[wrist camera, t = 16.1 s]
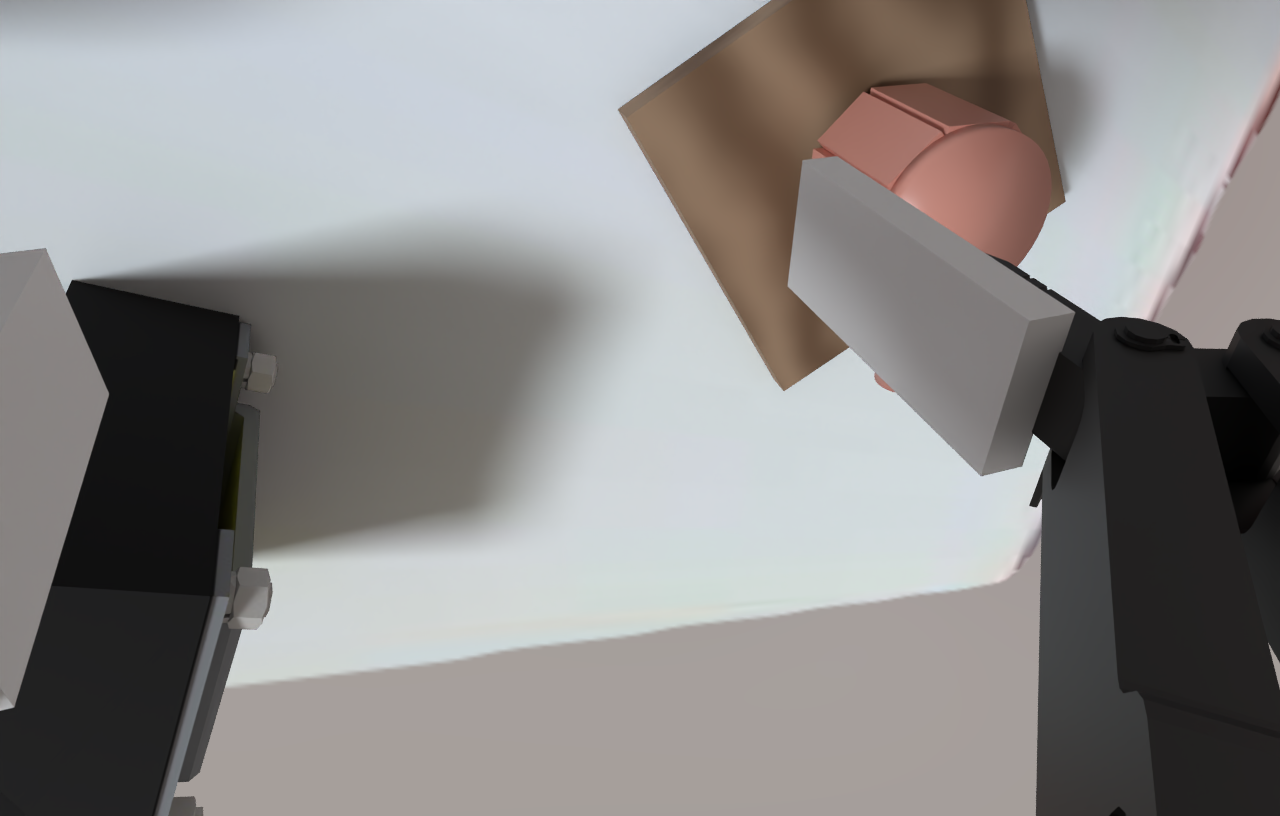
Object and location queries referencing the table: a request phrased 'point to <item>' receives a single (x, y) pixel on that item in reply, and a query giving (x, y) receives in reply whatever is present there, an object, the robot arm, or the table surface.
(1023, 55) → the base
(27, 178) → the table surface
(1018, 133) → the cap
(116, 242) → the table surface
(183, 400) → the electrical component
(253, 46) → the table surface
